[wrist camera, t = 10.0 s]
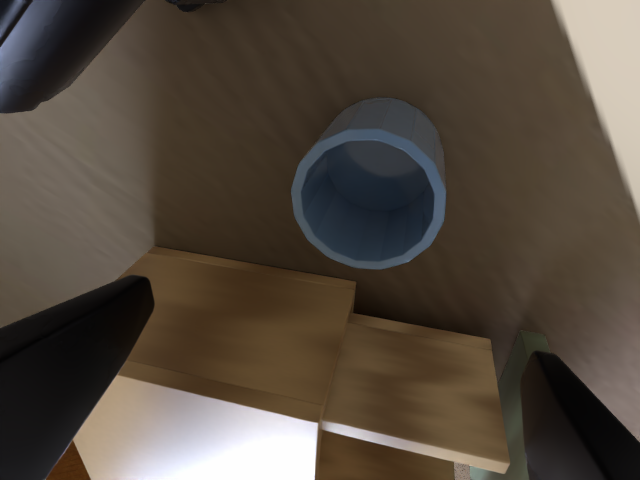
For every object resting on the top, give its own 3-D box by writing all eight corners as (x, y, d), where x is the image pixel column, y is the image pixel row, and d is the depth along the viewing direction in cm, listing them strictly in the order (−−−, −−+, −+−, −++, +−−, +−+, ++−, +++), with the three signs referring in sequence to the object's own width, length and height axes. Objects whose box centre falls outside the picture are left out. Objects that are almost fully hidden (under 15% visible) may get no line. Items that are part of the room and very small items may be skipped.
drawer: (689, 360, 20) (802, 525, 14) (595, 487, 26) (645, 641, 20) (323, 294, 23) (284, 403, 17) (316, 421, 29) (285, 536, 23)
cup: (301, 128, 19) (265, 166, 15) (415, 73, 17) (410, 100, 13) (351, 227, 21) (331, 284, 17) (460, 190, 19) (467, 246, 15)
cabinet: (356, 280, 23) (318, 422, 15) (341, 420, 30) (309, 568, 22) (153, 245, 25) (33, 354, 18) (181, 382, 32) (102, 505, 24)
